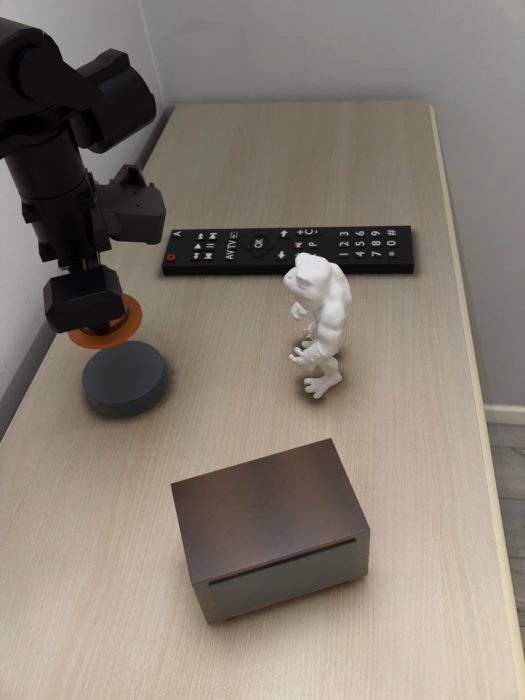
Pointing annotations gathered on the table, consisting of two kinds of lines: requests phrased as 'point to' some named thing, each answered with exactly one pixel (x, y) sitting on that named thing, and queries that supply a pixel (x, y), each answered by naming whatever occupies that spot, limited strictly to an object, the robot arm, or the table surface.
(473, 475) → the table surface
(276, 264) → the remote control
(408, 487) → the table surface
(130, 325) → the orange top hat
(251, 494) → the brown lidded box
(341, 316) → the figurine
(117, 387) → the stand
